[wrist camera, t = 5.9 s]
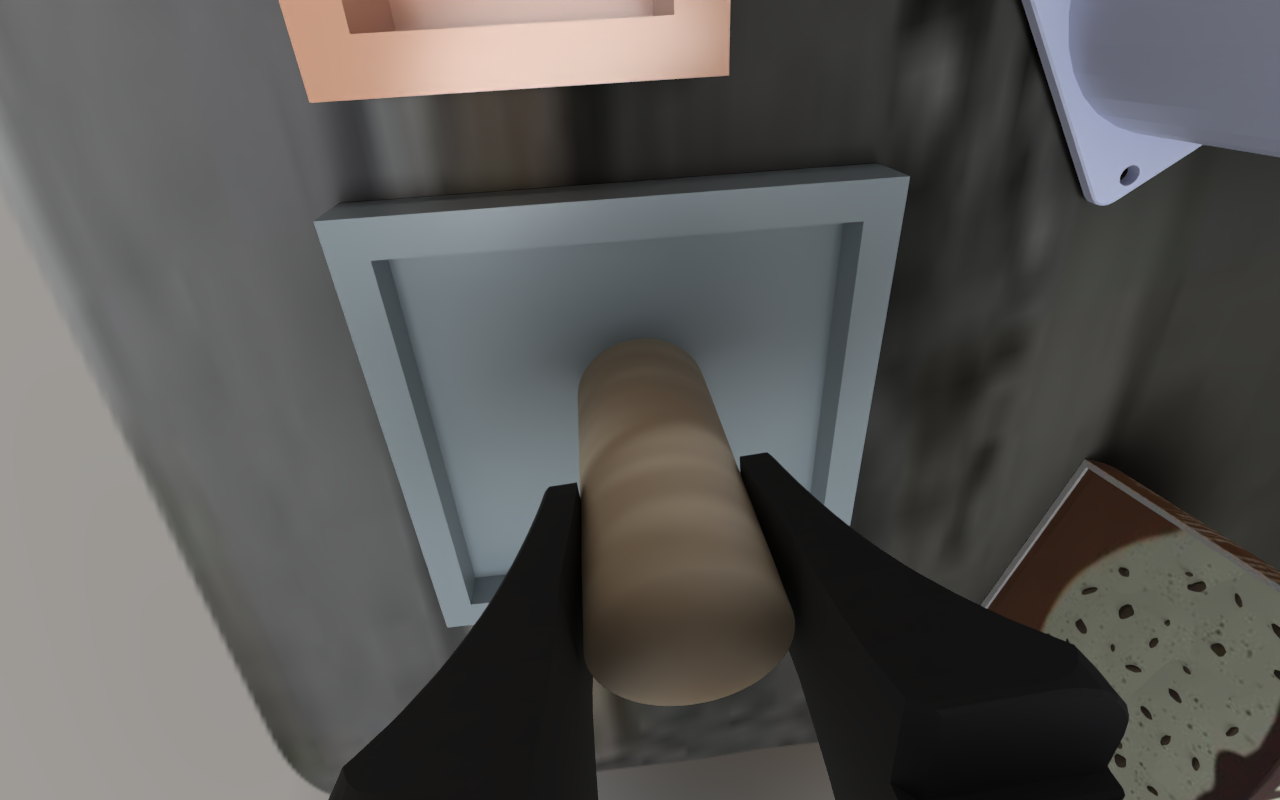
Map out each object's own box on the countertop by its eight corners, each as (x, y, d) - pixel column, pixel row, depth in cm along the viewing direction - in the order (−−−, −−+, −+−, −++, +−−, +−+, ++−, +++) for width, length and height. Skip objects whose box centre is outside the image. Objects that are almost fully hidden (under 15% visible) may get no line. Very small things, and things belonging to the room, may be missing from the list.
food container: (1062, 656, 29) (1270, 917, 20) (949, 648, 28) (1119, 923, 19) (1242, 446, 23) (1647, 691, 14) (1108, 425, 22) (1461, 678, 13)
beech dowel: (647, 312, 16) (707, 533, 9) (730, 395, 17) (835, 636, 10) (550, 396, 17) (537, 651, 10) (637, 467, 18) (677, 728, 12)
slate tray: (877, 163, 16) (910, 176, 14) (822, 546, 23) (840, 582, 22) (339, 203, 15) (312, 221, 14) (455, 587, 22) (447, 627, 21)
